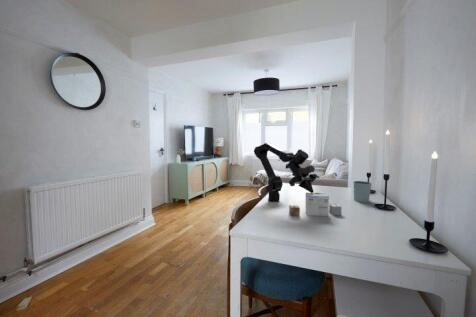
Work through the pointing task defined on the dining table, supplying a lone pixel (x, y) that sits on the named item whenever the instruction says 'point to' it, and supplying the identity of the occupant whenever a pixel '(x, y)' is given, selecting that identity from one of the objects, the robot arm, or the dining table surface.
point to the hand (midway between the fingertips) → (312, 192)
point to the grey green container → (362, 191)
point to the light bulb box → (317, 204)
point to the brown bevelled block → (294, 210)
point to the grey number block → (335, 209)
